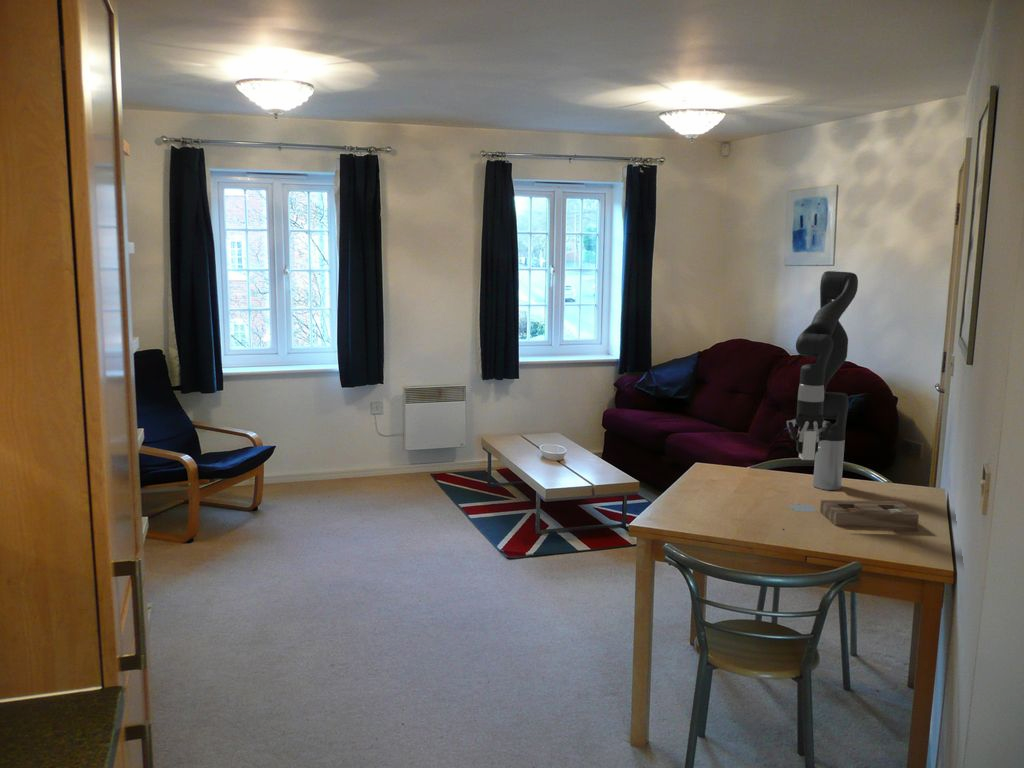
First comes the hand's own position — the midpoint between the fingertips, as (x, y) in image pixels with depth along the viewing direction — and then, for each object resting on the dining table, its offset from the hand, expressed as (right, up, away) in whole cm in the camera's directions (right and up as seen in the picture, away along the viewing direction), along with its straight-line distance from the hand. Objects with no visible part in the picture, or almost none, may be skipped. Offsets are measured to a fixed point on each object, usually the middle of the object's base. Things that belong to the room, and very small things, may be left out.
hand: (806, 453), depth 263 cm
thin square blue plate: (0, -18, +3) cm, 19 cm away
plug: (0, -2, 0) cm, 2 cm away
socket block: (+16, -20, -8) cm, 27 cm away
